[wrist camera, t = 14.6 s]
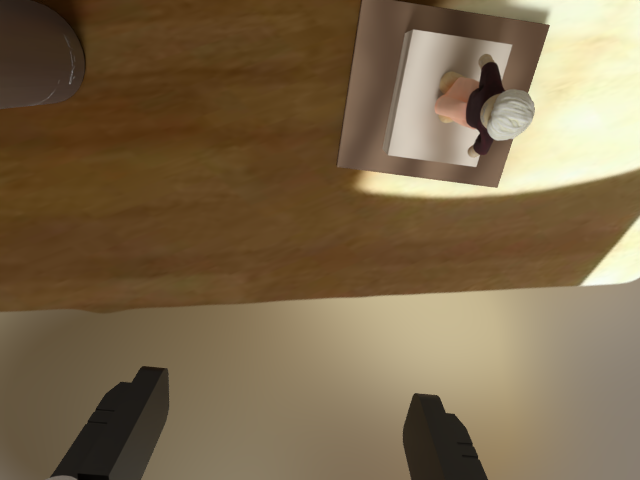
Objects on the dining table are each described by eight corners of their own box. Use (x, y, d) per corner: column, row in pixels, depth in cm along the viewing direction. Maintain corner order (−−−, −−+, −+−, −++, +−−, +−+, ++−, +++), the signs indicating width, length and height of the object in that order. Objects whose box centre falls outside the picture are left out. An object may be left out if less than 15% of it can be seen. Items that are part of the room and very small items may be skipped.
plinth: (336, 164, 43) (338, 174, 39) (361, -3, 37) (367, -13, 32) (492, 184, 44) (511, 196, 40) (543, 26, 38) (571, 20, 33)
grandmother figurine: (427, 65, 35) (483, 60, 23) (470, 54, 34) (548, 44, 23) (436, 149, 38) (489, 182, 26) (475, 140, 37) (547, 170, 26)
